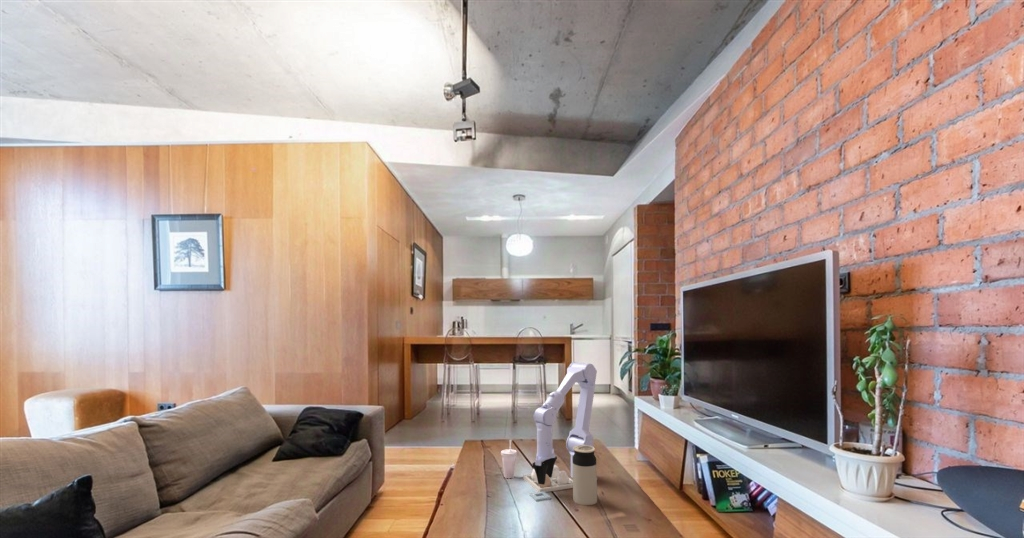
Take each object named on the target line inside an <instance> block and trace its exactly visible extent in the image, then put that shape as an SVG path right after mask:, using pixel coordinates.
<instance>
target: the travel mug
mask: <svg viewBox="0 0 1024 538" xmlns="http://www.w3.org/2000/svg"><path fill="white" fill-rule="evenodd" d="M573 450H574V456H573V478H572V480H573V488H572V498H573V499H572V500H573V502H574V503H575V504H578V505H581V506H592V505H595V504H597V503H598V481H597V479H598V477H597V476H598V475H597V472H598V471H597V470H598V469H597V457H596V455H595V451H596V448H595V447H592V446H588V445H578V446H575V447H573Z"/></svg>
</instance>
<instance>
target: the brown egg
mask: <svg viewBox="0 0 1024 538" xmlns="http://www.w3.org/2000/svg"><path fill="white" fill-rule="evenodd" d="M538 484H539V483H538ZM538 486H539V487H540V488H546V487H552V485H551V480H550V477H549V476H548V475H547V474H546V478H545V484H544V485H543V484H539V485H538Z"/></svg>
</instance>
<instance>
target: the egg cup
mask: <svg viewBox="0 0 1024 538" xmlns="http://www.w3.org/2000/svg"><path fill="white" fill-rule="evenodd" d="M529 496H530V497H531V499H533V500H534V501H535V502H539V501H547V500H551V499H552V496H550V495H549V494H548V492H544V491H542V492H538V491H536V492H531V493H529ZM539 496H540V497H539Z"/></svg>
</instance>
